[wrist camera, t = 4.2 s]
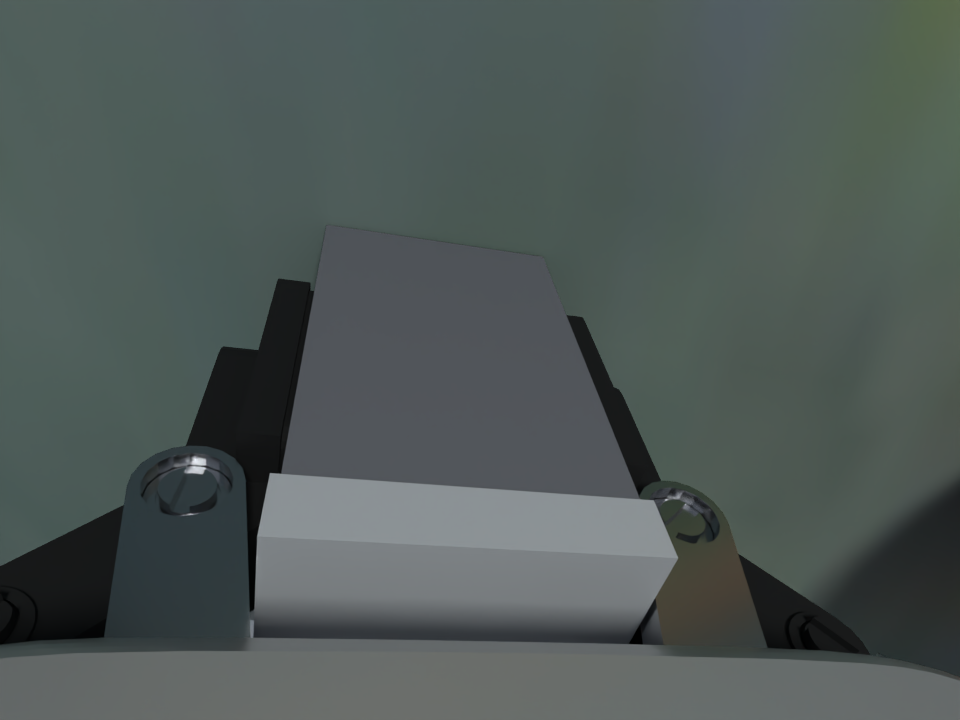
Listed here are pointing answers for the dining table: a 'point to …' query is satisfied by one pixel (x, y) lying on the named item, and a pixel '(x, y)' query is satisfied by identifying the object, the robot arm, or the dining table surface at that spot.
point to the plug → (450, 462)
